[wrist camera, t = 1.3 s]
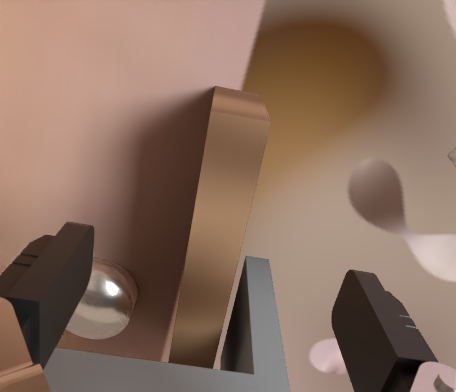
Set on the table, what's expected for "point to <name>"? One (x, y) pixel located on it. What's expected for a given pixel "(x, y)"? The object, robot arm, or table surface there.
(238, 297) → the low cabinet
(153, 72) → the table surface
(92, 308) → the silver rounded piece
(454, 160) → the skincare box
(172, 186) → the table surface
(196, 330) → the copper bar
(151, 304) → the table surface
